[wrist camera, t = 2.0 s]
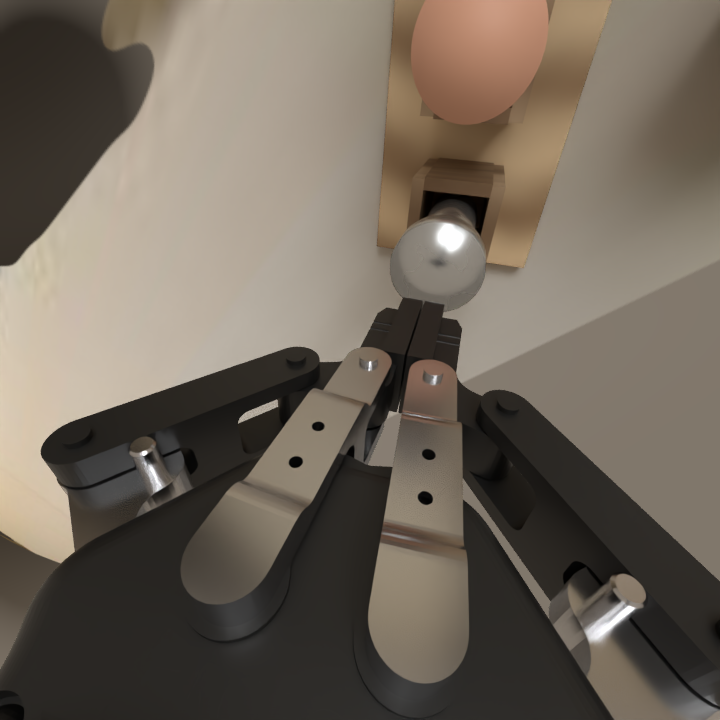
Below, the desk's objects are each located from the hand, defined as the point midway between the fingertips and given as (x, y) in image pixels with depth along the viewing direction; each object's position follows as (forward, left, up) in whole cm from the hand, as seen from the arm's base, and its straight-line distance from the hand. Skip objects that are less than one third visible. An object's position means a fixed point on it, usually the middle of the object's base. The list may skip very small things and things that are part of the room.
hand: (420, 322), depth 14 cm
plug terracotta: (-8, 0, -14) cm, 16 cm away
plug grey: (0, 0, -14) cm, 14 cm away
